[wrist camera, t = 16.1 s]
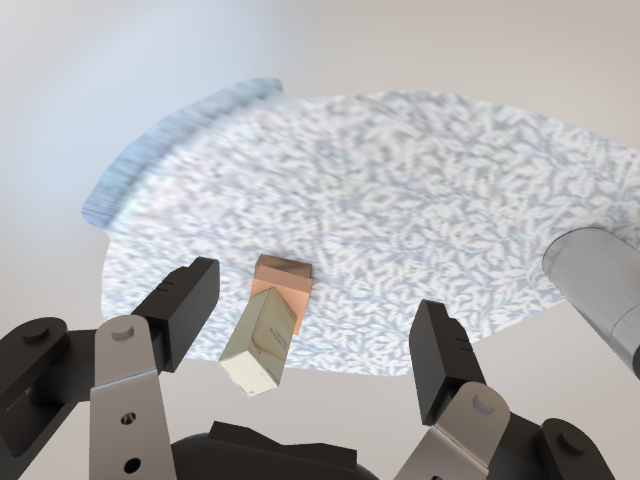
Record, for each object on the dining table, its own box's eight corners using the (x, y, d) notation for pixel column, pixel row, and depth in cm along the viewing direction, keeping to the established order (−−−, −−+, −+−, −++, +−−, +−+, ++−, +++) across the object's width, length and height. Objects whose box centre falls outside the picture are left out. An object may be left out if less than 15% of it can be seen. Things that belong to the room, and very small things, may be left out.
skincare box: (298, 317, 46) (281, 389, 36) (272, 328, 48) (249, 400, 37) (273, 284, 44) (248, 350, 33) (247, 296, 46) (215, 364, 35)
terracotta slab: (313, 279, 47) (310, 293, 44) (301, 319, 51) (297, 335, 48) (260, 264, 47) (253, 278, 44) (252, 306, 51) (245, 321, 48)
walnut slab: (312, 263, 50) (308, 276, 47) (305, 303, 54) (301, 317, 51) (261, 253, 51) (255, 265, 48) (258, 294, 54) (252, 307, 51)
